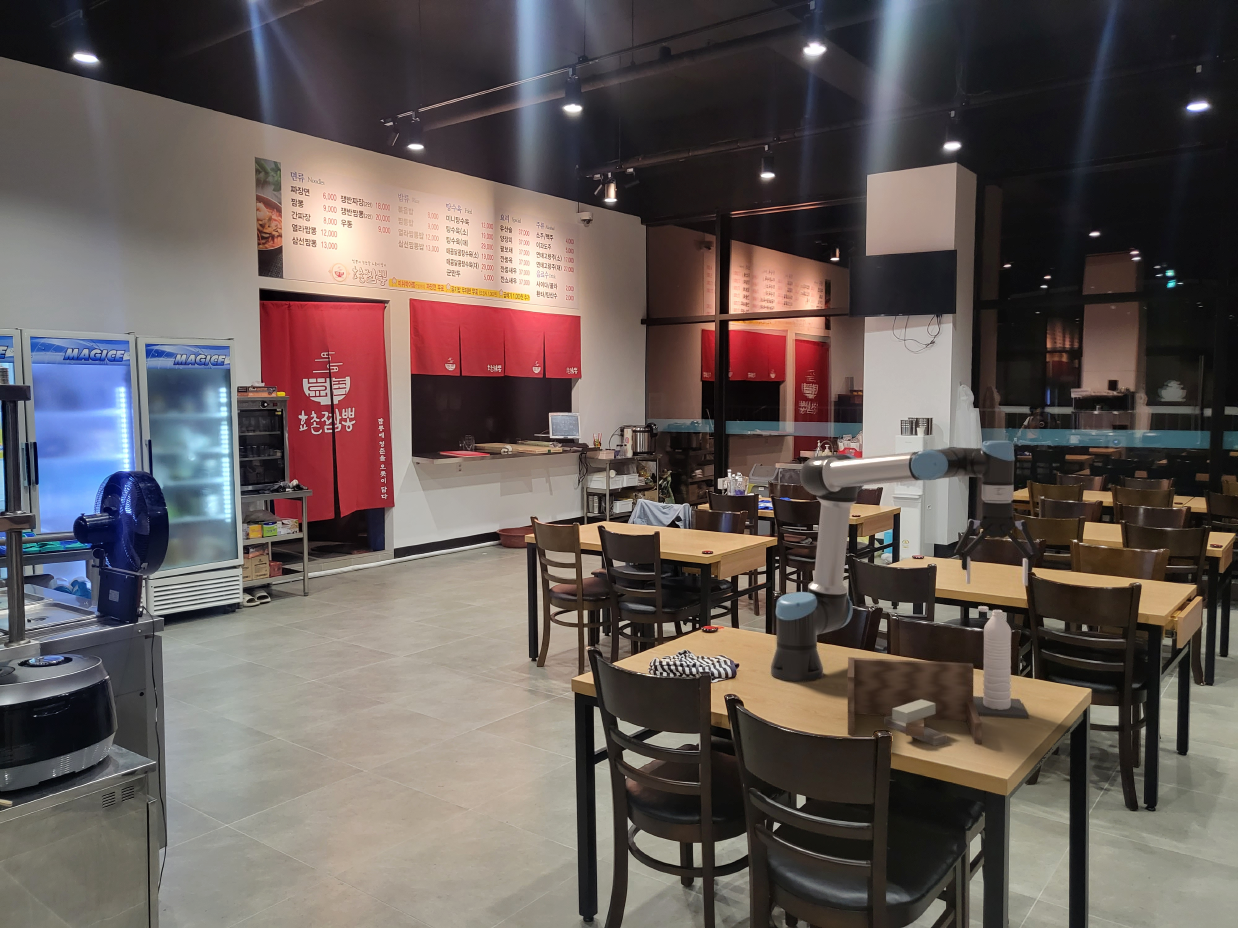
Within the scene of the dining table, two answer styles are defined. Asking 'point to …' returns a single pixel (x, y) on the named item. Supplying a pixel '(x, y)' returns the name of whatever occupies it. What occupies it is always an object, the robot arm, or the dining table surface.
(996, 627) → the water bottle
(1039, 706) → the dining table surface
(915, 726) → the offcut middle
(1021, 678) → the dining table surface
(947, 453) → the robot arm
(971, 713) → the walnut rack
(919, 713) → the offcut top
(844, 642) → the dining table surface
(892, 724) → the offcut bottom
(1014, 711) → the rubber mat
